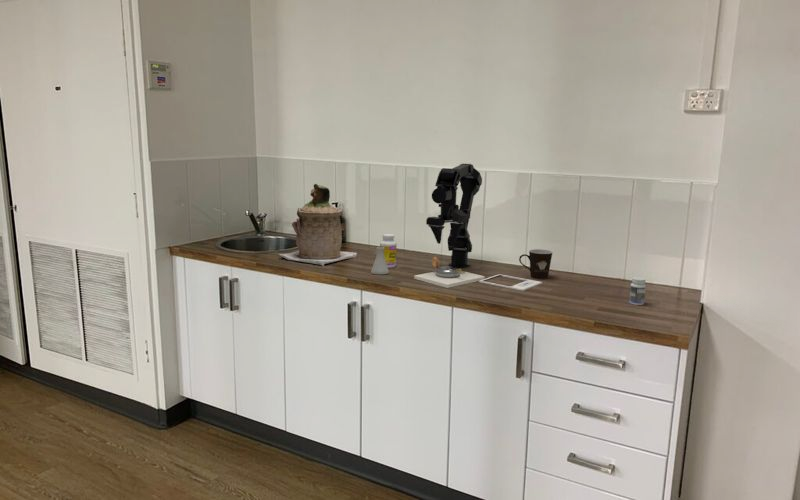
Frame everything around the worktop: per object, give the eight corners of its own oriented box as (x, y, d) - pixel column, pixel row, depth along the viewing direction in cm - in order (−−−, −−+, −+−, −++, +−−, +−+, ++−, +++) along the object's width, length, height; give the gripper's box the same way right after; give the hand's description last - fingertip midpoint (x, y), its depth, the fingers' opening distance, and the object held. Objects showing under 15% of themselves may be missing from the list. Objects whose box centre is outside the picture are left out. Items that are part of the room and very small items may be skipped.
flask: (387, 275, 233) (387, 249, 231) (368, 274, 235) (368, 248, 233) (391, 271, 240) (391, 246, 238) (373, 270, 242) (373, 245, 240)
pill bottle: (626, 301, 204) (628, 276, 202) (640, 301, 204) (642, 276, 203) (632, 305, 199) (635, 280, 198) (646, 305, 200) (649, 280, 198)
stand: (451, 271, 242) (451, 265, 242) (484, 279, 230) (484, 273, 229) (414, 278, 229) (414, 272, 229) (447, 287, 217) (447, 281, 216)
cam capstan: (471, 276, 227) (472, 262, 226) (454, 280, 221) (455, 265, 220) (441, 269, 239) (441, 255, 238) (424, 272, 233) (425, 258, 232)
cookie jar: (359, 257, 266) (359, 182, 260) (322, 267, 246) (322, 186, 240) (315, 250, 279) (314, 179, 273) (277, 259, 259) (275, 182, 253)
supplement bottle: (389, 268, 245) (389, 236, 242) (376, 266, 249) (376, 234, 246) (399, 266, 250) (400, 234, 247) (386, 263, 254) (387, 232, 251)
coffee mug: (552, 276, 237) (554, 250, 235) (548, 280, 230) (550, 254, 228) (522, 272, 242) (524, 247, 240) (517, 277, 234) (518, 251, 232)
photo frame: (523, 289, 215) (479, 280, 226) (522, 292, 215) (478, 283, 226) (542, 281, 226) (499, 273, 237) (542, 284, 226) (499, 276, 237)
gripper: (449, 204, 222) (447, 247, 224) (480, 202, 235) (478, 243, 238) (426, 202, 229) (424, 243, 232) (457, 200, 243) (455, 239, 245)
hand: (446, 242), depth 237 cm, fingers open, 9 cm apart
